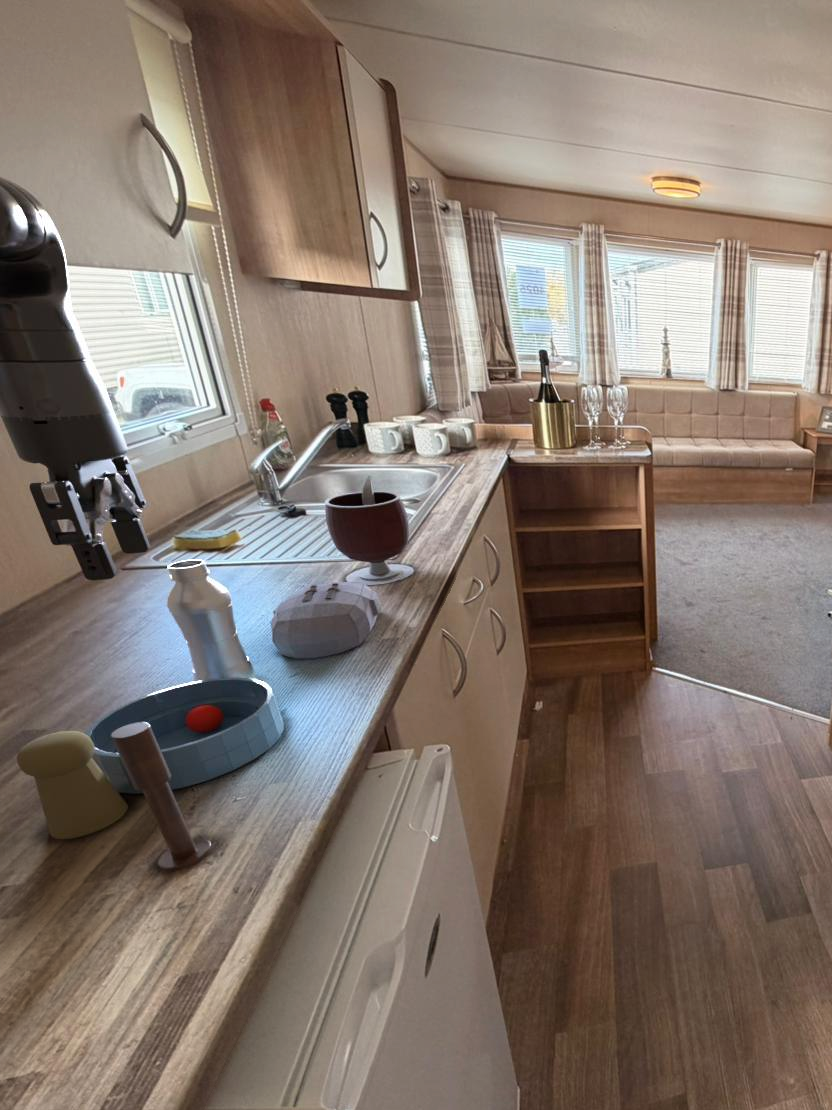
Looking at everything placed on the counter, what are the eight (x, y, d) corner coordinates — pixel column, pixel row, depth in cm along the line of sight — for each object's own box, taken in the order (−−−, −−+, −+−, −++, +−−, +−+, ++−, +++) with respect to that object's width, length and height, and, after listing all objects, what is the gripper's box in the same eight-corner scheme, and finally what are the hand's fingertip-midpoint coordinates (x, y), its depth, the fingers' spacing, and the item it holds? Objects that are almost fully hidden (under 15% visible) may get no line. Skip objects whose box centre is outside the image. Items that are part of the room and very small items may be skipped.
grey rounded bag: (293, 619, 116) (259, 670, 99) (281, 576, 112) (243, 622, 96) (390, 608, 121) (372, 656, 105) (380, 568, 118) (361, 610, 101)
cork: (33, 839, 67) (-15, 753, 62) (99, 800, 72) (59, 719, 68) (83, 847, 66) (38, 761, 62) (146, 807, 71) (109, 726, 67)
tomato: (186, 741, 81) (176, 717, 80) (196, 725, 84) (187, 702, 83) (222, 735, 83) (213, 711, 81) (230, 720, 86) (222, 697, 84)
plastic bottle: (198, 690, 93) (149, 562, 85) (256, 675, 98) (216, 552, 90) (203, 709, 89) (152, 576, 81) (264, 692, 94) (222, 565, 86)
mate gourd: (413, 585, 132) (393, 491, 124) (334, 592, 127) (308, 494, 119) (423, 561, 145) (406, 474, 137) (352, 566, 140) (329, 476, 132)
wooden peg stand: (154, 880, 63) (90, 746, 56) (170, 851, 66) (111, 722, 60) (205, 868, 64) (149, 737, 58) (219, 841, 68) (167, 714, 61)
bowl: (71, 815, 70) (48, 771, 68) (140, 729, 84) (123, 691, 82) (265, 778, 77) (250, 737, 74) (299, 705, 91) (287, 668, 89)
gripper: (43, 400, 66) (104, 548, 73) (-46, 420, 54) (36, 593, 61) (139, 400, 69) (189, 541, 76) (74, 418, 58) (140, 583, 64)
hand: (121, 564), depth 68 cm, fingers open, 8 cm apart
